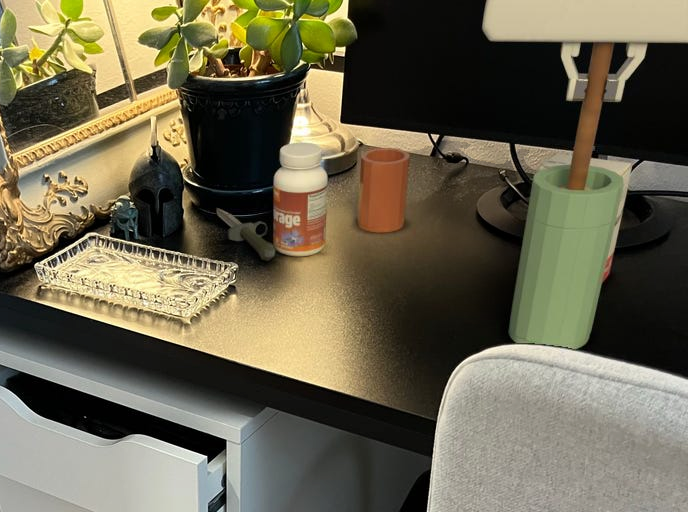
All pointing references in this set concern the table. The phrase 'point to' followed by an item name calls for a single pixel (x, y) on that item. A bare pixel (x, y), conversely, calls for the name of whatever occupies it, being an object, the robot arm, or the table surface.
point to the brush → (589, 115)
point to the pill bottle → (300, 200)
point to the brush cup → (383, 189)
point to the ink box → (615, 166)
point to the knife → (248, 234)
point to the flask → (564, 256)
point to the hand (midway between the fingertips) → (593, 99)
